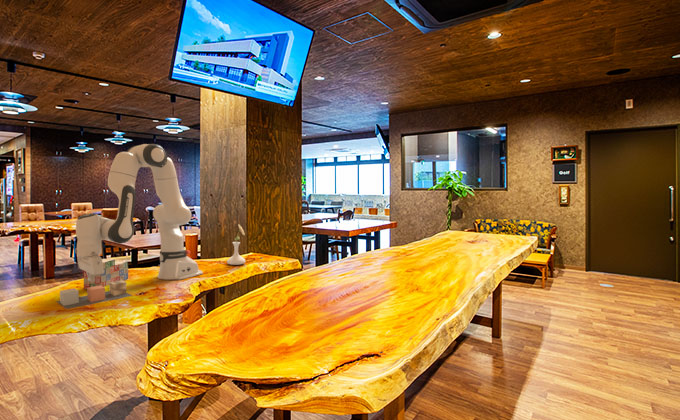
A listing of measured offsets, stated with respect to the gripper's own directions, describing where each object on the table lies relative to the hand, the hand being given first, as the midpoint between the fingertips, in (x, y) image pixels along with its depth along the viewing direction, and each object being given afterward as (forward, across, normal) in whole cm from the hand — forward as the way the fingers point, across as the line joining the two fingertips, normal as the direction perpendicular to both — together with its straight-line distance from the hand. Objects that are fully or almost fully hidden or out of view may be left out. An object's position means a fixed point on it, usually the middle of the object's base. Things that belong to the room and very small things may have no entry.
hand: (91, 281), depth 160 cm
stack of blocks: (+7, +14, -11) cm, 19 cm away
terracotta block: (+6, -10, +2) cm, 11 cm away
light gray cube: (+5, -7, +10) cm, 13 cm away
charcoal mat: (+6, -8, +1) cm, 10 cm away
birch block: (+6, -7, -8) cm, 12 cm away
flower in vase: (+9, +8, -81) cm, 82 cm away
